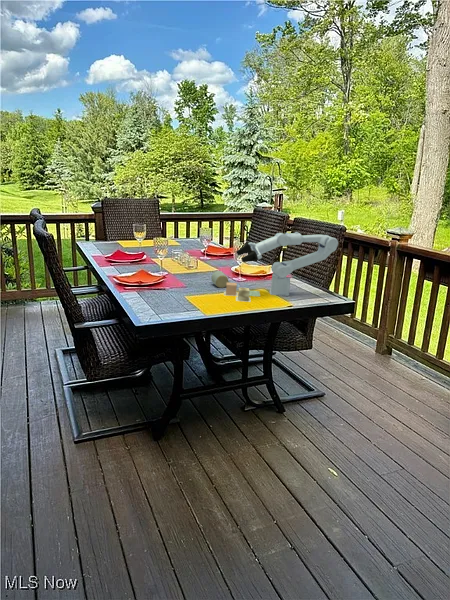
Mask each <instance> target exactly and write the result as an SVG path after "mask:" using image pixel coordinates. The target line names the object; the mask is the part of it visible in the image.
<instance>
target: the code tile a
mask: <svg viewBox="0 0 450 600" xmlns="http://www.w3.org/2000/svg"><path fill="white" fill-rule="evenodd" d="M235 301H236V302H242V301H241V300H238V296H235ZM244 302H246V303H247V302H248V303H251V297H249V301H244Z"/></svg>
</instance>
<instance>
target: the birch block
mask: <svg viewBox="0 0 450 600" xmlns="http://www.w3.org/2000/svg"><path fill="white" fill-rule="evenodd" d="M249 291H250V288H249V287H238V296H237V297H238V300H241V301H240V302H245V301H249V298H250V296H249Z"/></svg>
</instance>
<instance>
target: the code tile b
mask: <svg viewBox="0 0 450 600" xmlns="http://www.w3.org/2000/svg"><path fill="white" fill-rule="evenodd" d="M223 296H226V297H227V296H228V297H229V296H230V297H231V296H232V297H238V292H237V291H236V295H226V290H225V291H223Z"/></svg>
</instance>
